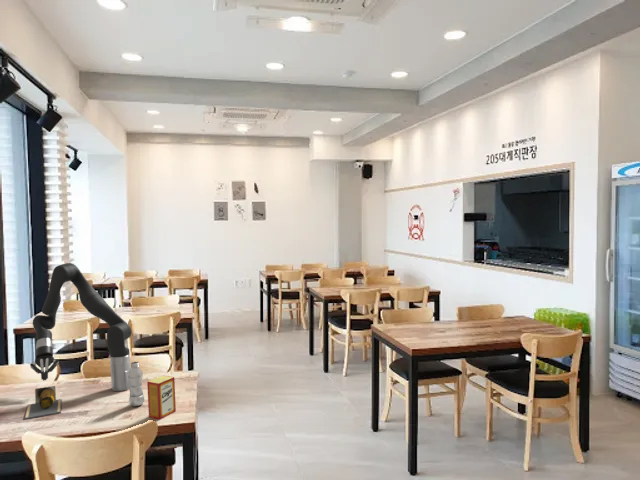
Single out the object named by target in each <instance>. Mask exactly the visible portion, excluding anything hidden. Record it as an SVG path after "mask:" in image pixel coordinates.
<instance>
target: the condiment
mask: <svg viewBox="0 0 640 480" xmlns="http://www.w3.org/2000/svg"><path fill="white" fill-rule="evenodd" d="M56 389H57V388H56V385H51V386H45V387H37V388H35V389H34V391H35V392H34V395H35V396H34V397H35V403H40V406H41V407H42V408H49V407H51V406H52V404H53V402H54V400H57V397H56V396H57V395H56V391H57V390H56ZM35 403H34V404H35Z"/></svg>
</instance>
